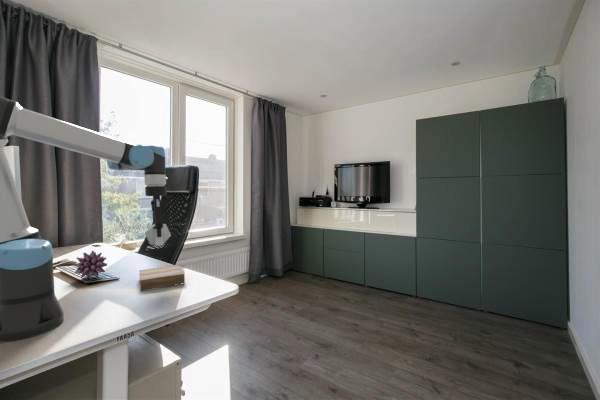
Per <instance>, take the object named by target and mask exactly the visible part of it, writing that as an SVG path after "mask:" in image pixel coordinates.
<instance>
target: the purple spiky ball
mask: <svg viewBox="0 0 600 400" xmlns="http://www.w3.org/2000/svg"><path fill="white" fill-rule="evenodd" d="M82 255H83V257H78V256H77V257H76V260H77V261H78V262H77V263H73V266H74V267H76V269H75V271H74V274H78V275H80V274H81V275H80V278H81V279H83V278H84V277H86V279H87V278H89V279H91V278H92V277H96V278H97V277H98V278H99V273H105V272H106V270H105V269H104V267H107V266H108V263H107V262H105V260H107V257H105V256H101V255H102V252H100V253H98V254H97V252H95V250H91V252H90V253H89V254H88V253H86V252H83V253H82ZM82 277H83V278H82Z"/></svg>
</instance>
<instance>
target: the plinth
mask: <svg viewBox="0 0 600 400" xmlns="http://www.w3.org/2000/svg"><path fill="white" fill-rule="evenodd" d="M181 283H184V284H185V273H184V271H183V270H182V268H181V266H180V265H179V264H177V265H170V266H169V265H168V266H163V267H155V268H148V269H142V270H141V269H140V270H139V285H140V291H141V292H144V291H150V290H156V289H161V287H163V288H167V287H166V286H169V287H171V286H170V285H175V284H181ZM181 285H182V284H181ZM175 286H176V285H175Z"/></svg>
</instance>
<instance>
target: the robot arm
mask: <svg viewBox="0 0 600 400" xmlns="http://www.w3.org/2000/svg"><path fill="white" fill-rule="evenodd" d="M11 136H15V137H20V138H23V139H26V140H31V141H34V142H38V143H42V144H45V145H50V146H53V147H56V148H61V149H63V150H64V149H65V150H68V151H72V152H75V153H79V154H83V155H87V156H90V157H94V158H98V159H101V160H105V161H106V163H107V167H108V168H109V170H111V171H112V170H113V171H144V172H143V173H144V185H145V188H144V189H145V190H144V192H145V196H146V197H152V200H150V206H151V212H152V225H153V224H155V227H153V229H155V247H157V246H164V244H163V224H164V223H163V202H164V201H163V200H162V199H161V196H162V197H163V196H166V195H167V194H168V193H167V186H165V185H167V180H168V179H169V178H168V177H167V176H166V174H167V173H166V152H165V147H163V146H161V145H156V144H155V145H152V144H151V145H145V144H135V143H131V142H128V141H125V140H122V139H119V138H117V137H112V136H109V135H106V134H103V133H101V132H97V131H94V130H91V129H89V128H85V127H82V126H79V125H76V124H73V123H70V122H67V121H63V120H61V119H57V118H55V117H51V116H49V115H46V114H43V113H40V112H36V111H34V110H30V109H27V108H25V107H23V106H21V105H20V104H19V102H18V101H15V100H12V99H9V98H6V97H4V96H1V95H0V341H4V342H11V341H12V342H14V341H18V340H22V339H27V338H31V337H35V336H37V335H41V334H44V333H47V332H48V331H51V330H53V329H55V328H56V327H59V326H60V325H61V324H62V323H64V321H65V317H64V314H65V313H64V310H63V308H62V306H61V304H60V302H59V301H58V298H57V296H56V294H55V279H54V277H55V276H54V258H53V256H54V249H53V246H52V243H51V242H50V241H49V240H46V239H43V238H42V236H41V234H40V231H39V229H38V228H35V227H32V226H31V224H30V221H29V218H28V216H27V213H26V210H25V206H24V204H23V202H22V198H21V195H20V192H19V189H18V186H17V184H16V181H15V178H14V175H13V171H12V168H11V166H10V163H9V161H8V157H7V153H6V151H5V146H6V145H7V144H8V143H9V139H8V137H11Z"/></svg>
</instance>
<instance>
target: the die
mask: <svg viewBox="0 0 600 400" xmlns="http://www.w3.org/2000/svg"><path fill="white" fill-rule="evenodd" d="M153 227H155V224H153V223H152V225H151V226H150V227H149V228H148V229H147V230H146V231H144V235H145V237H146V240H147V241H148V243H149V245H155V229H153ZM171 236H172V234H171V232H170V230H169V227H168V225H167V224H166V223H163V245H164V244H165V243H166V242H167V241H168V240H169V238H170V237H171ZM155 246H156V245H155Z"/></svg>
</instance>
